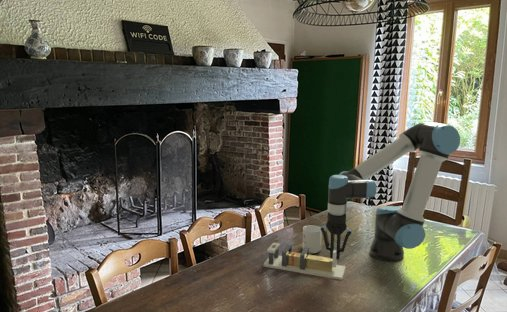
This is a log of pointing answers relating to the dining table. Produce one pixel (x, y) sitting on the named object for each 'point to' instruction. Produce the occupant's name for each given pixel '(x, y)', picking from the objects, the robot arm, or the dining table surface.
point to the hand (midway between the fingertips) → (334, 265)
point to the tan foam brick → (310, 261)
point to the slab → (307, 269)
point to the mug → (312, 238)
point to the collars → (285, 254)
